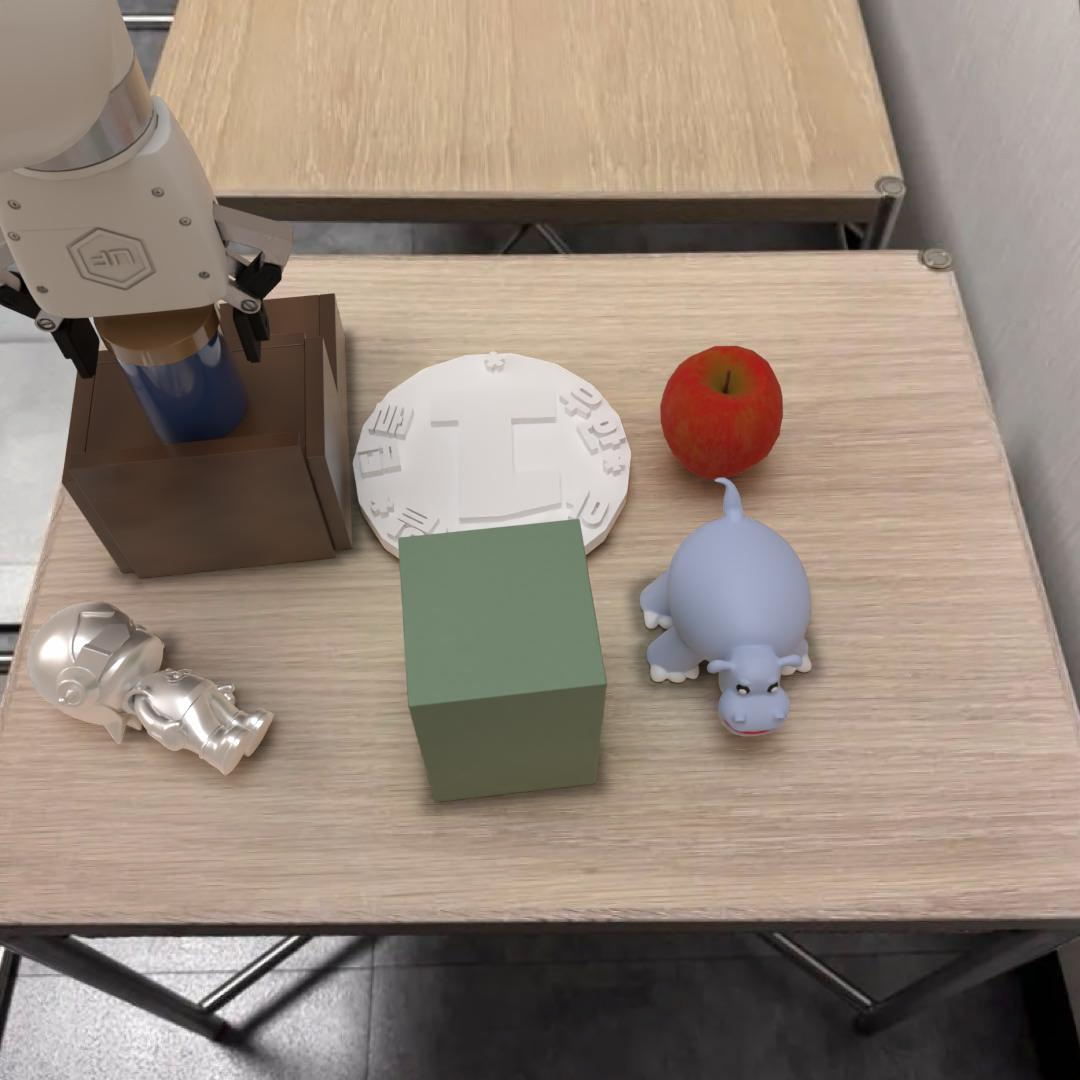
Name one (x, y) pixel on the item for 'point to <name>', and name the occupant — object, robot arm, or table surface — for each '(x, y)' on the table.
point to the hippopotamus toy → (733, 616)
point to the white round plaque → (491, 451)
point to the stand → (502, 658)
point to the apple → (722, 411)
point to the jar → (179, 370)
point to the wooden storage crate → (224, 458)
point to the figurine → (137, 686)
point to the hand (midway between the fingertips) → (174, 352)
